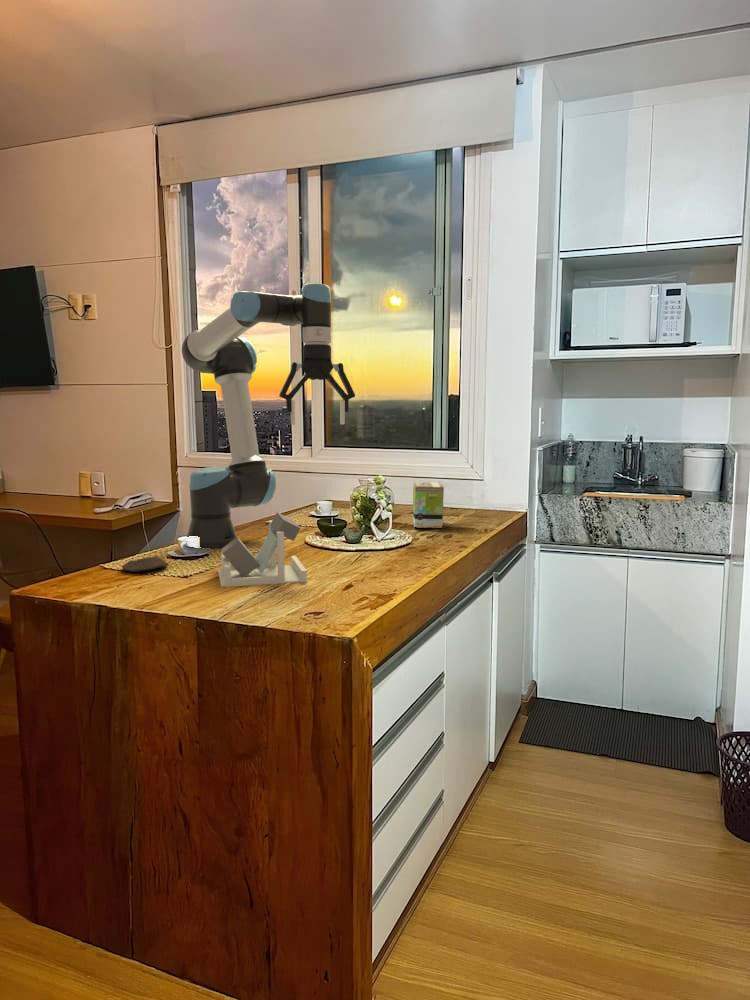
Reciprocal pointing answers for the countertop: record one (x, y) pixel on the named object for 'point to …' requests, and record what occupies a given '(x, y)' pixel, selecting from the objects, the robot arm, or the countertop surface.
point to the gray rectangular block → (240, 557)
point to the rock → (145, 564)
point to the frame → (271, 572)
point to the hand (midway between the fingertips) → (317, 424)
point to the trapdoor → (270, 542)
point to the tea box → (428, 504)
